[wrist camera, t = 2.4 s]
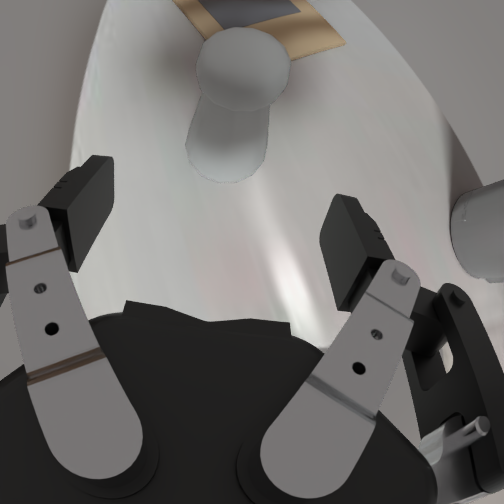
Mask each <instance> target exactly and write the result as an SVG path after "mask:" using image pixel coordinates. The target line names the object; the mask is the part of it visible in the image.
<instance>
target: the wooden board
mask: <svg viewBox="0 0 504 504" xmlns="http://www.w3.org/2000/svg"><path fill="white" fill-rule="evenodd" d="M172 1H173V2H174V3H175V4H176V5H177V6H178V7H179V9H180V10H181V11H182V12H183V13H184V14H185V16H186V17H187V18H188V19H189V20H190V21H191V23H192V24H193V25H194V26H195V27H196V29H197V30H198V31H199V32H200V33H201V35H202V36H203V37H204V38H205V40H207V39H209V38H210V37H211V36H212V35H214V34H215V33H216V32H219V31H223V30H226V29H230V28H233V27H242V28H254V29H257V30H260V31H262V32H265V33H268V34H270V35H272V36H273V37H274V38H275V39H277V40H278V41H279V42H280V43H281V44H282V45H283V46H285V48H286V51H287V53H288V55H289V57H290V59H291V61H293V60H296V59H299V58H302V57H305V56H308V55H311V54H315V53H318V52H321V51H325V50H328V49H332V48H335V47H339V46H343V45H345V44H346V41H345V40H344V39H343V38H342V37H341V36H340V35H339V34H338V33H337V31H336V30H335V29H334V28H333V27H332V26H331V25H330V24H329V23H328V22H327V21H326V20H325V19H324V18H323V17H322V16H321V15H320V14H319V13H318V12H317V11H316V10H315V9H314V8H313V7H312V6H311V5H310V4H309V3H308V2H307V1H306V0H172Z"/></svg>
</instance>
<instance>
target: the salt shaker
mask: <svg viewBox="0 0 504 504" xmlns="http://www.w3.org/2000/svg"><path fill="white" fill-rule="evenodd" d="M290 66H291V59H290V57H289V55H288V53H287V51H286V48H285V46H283V45H282V44H281V43H280V42H279V41H278V40H277V39H275V38H274V37H273V36H272V35H270V34H268V33H265V32H262V31H260V30H257V29H254V28H242V27H233V28H230V29H226V30H223V31H219V32H216V33H215V34H214V35H212V36H211V37H210V38H209V39H207V40H206V41H205V42H204V43H203V45H202V48H201V51H200V54H199V56H198V60H197V63H196V74H197V78H198V82H199V86H200V89H201V90H202V92H203V93H202V96H201V98H200V101H199V104H198V106H197V109H196V112H195V114H194V117H193V120H192V123H191V126H190V128H189V132H188V136H187V140H186V144H185V146H186V150H187V154H188V159H189V162H190V164H191V165H192V166H193V167H194V168H195V169H196V170H197V171H198V173H199V174H200V175H201V176H203V177H205V178H207V179H210V180H212V181H214V182H217V183H237V182H239V181H241V180H243V179H245V178H247V177H249V176H252V175H253V174H254V173H255V171H256V170H257V169H258V168H259V166H260V165H261V164H262V162H263V161H264V158H265V153H266V148H267V141H268V125H269V110H270V104H272V103H273V102H274V101H275V100H276V98H277V97H278V96H279V95H280V94H281V93H282V92H283V91H284V89H285V87H286V85H287V83H288V78H289V72H290Z"/></svg>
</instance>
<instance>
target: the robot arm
mask: <svg viewBox="0 0 504 504" xmlns="http://www.w3.org/2000/svg"><path fill="white" fill-rule="evenodd" d="M113 203H114V160H113V158H112V157H110V156H99V155H92V156H91V157H90V158H89V159H88V160H87V161H86V162H85V163H84V164H83V165H82V166H81V167H76V168H75V169H73V170H71V171H69V172H67V173H66V174H65V175H64V176H63V177H62V178H61V179H60V180H59V182H57V184H56V185H55V186H54V188H52V189H51V190H50V191H49V192H48V194H47V195H46V196H45V197H44V198H43V199H42V200H41V201H40V203H39V204H38V205H37V206H36V205H35V206H27V207H23V208H21V209H19V210H17V211H15V212H14V213H13V214H11V216H10V217H9V218H8V220H7V222H6V224H4V225H0V307H1V304H2V303H3V301H4V299H5V297H6V295H7V293H9V296H10V301H11V307H12V313H13V318H14V323H15V328H16V333H17V337H18V342H19V346H20V350H21V353H22V358H23V361H24V364H23V365H22V366H20V367H19V368H17V369H16V370H15V371H13V372H12V373H10V374H9V375H8V376H6V377H5V378H4V379H2V380H1V381H0V504H468V503H471V502H473V501H476V500H479V499H481V498H484V497H486V496H488V495H491V494H493V493H495V492H498V491H500V490H502V489H504V373H503V370H502V368H501V365H500V363H499V360H498V358H497V355H496V353H495V350H494V348H493V346H492V343H491V341H490V339H489V337H488V334H487V332H486V330H485V328H484V326H483V323H482V321H481V319H480V317H479V315H478V313H477V311H476V309H475V307H474V305H473V303H472V301H471V299H470V298H469V296H468V295H467V294H466V293H465V292H464V291H463V290H462V289H461V288H459V287H458V286H456V285H454V284H451V283H445V284H443V285H442V287H441V288H440V289H439V291H438V292H437V293H435V292H433V291H431V290H428V289H426V288H423V287H421V286H420V285H421V283H420V279H419V277H418V275H417V274H416V273H415V272H414V271H413V270H412V269H411V268H410V267H409V266H407V265H406V264H404V263H402V262H400V261H397V260H395V258H394V256H393V254H392V252H391V250H390V248H389V246H388V245H387V243H386V241H385V240H384V237H383V235H382V233H380V229H379V227H378V226H377V224H376V222H375V221H374V220H373V219H372V218H371V217H370V216H369V215H368V214H367V213H365V212H364V210H363V209H362V207H361V205H360V203H359V201H358V199H357V198H355V197H350V196H346V195H342V194H336V195H335V196H334V198H333V200H332V202H331V205H330V208H329V210H328V213H327V215H326V218H325V221H324V223H323V226H322V228H321V232H320V247H321V250H322V254H323V258H324V261H325V265H326V268H327V272H328V276H329V280H330V283H331V287H332V291H333V295H334V299H335V302H336V306H337V310H338V311H347V312H351V315H350V317H349V319H348V320H347V322H346V323H345V325H344V326H343V328H342V329H341V331H340V332H339V334H338V335H337V337H336V338H335V340H334V341H333V343H332V344H331V346H330V347H329V349H328V350H327V352H326V353H325V354H324V353H322V351H320V350H319V349H318V348H316V347H315V346H313V345H312V344H310V343H308V342H306V341H304V340H302V339H300V338H297V337H295V336H292V335H291V330H290V323H288V322H278V321H268V320H259V319H251V318H250V319H239V320H227V321H215V322H207V321H203V320H200V319H197V318H195V317H192V316H189V315H186V314H184V313H181V312H178V311H176V310H173V309H170V308H168V307H163V306H157V305H151V304H145V303H139V302H133V301H128V300H126V303H125V306H124V310H123V312H120V313H111V314H106V315H102V316H98V317H96V318H93V319H90V320H88V319H87V317H86V314H85V312H84V310H83V307H82V305H81V302H80V300H79V297H78V295H77V292H76V289H75V287H74V284H73V281H72V279H71V276H70V273H69V271H71V272H76V273H78V271H79V269H80V267H81V265H82V263H83V261H84V259H85V258H86V256H87V254H88V252H89V250H90V248H91V246H92V244H93V243H94V241H95V239H96V237H97V235H98V234H99V232H100V230H101V228H102V226H103V225H104V223H105V221H106V220H107V218H108V216H109V214H110V213H111V210H112V208H113ZM451 237H452V243H453V247H454V251H455V253H456V256H457V258H458V260H459V262H460V264H461V266H462V267H463V268H464V270H465V271H466V272H467V273H468V274H470V275H471V276H473V277H476V278H485V279H487V281H488V282H489V283H502V282H504V180H501V181H498V182H495V183H493V184H490V185H487V186H484V187H481V188H478V189H475V190H473V191H470V192H467V193H465V194H463V195H462V196H461V197H460V198H459V199H458V200H457V202H456V204H455V206H454V209H453V212H452V218H451ZM447 341H448V343H449V346H450V349H451V352H452V354H453V365H452V368H451V370H450V371H449V372H448V373H447V374H446V371H445V368H444V364H443V361H442V358H441V356H440V352H439V350H440V349H441V348H442V347H443V346H444V344H445V343H446V342H447ZM401 356H402V358H403V362H404V366H405V370H406V374H407V377H408V382H409V386H410V390H411V394H412V399H413V403H414V408H415V412H416V417H417V422H418V427H419V432H420V437H421V442H420V445H419V449H417V448H416V447H415V446H414V445H413V444H411V442H410V441H409V440H408V439H407V438H406V437H405V436H404V435H403V434H402V433H401V432H400V431H399V430H398V429H397V428H396V427H395V426H394V425H393V424H392V423H391V422H390V421H389V420H388V419H387V418H386V417H385V416H384V415H383V414H382V413H381V412H380V411H379V410H378V409H379V407H380V405H381V403H382V401H383V399H384V396H385V394H386V392H387V390H388V388H389V385H390V383H391V381H392V378H393V376H394V374H395V371H396V369H397V366H398V364H399V361H400V359H401Z"/></svg>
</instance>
